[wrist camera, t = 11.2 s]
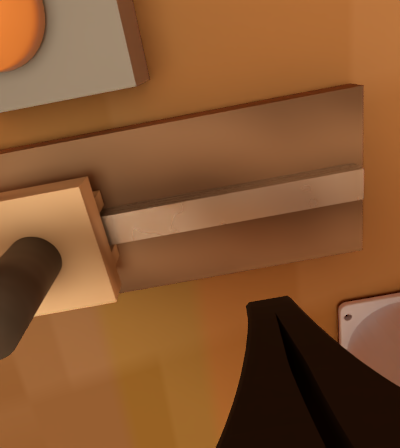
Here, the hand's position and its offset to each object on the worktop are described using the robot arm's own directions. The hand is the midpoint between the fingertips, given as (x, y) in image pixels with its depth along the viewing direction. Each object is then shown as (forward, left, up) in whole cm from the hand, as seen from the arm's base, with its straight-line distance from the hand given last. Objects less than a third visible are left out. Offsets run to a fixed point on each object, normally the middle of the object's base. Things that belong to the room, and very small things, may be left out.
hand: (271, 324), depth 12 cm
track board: (+1, +4, -10) cm, 11 cm away
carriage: (+1, +10, -9) cm, 13 cm away
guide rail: (+1, +4, -9) cm, 10 cm away
